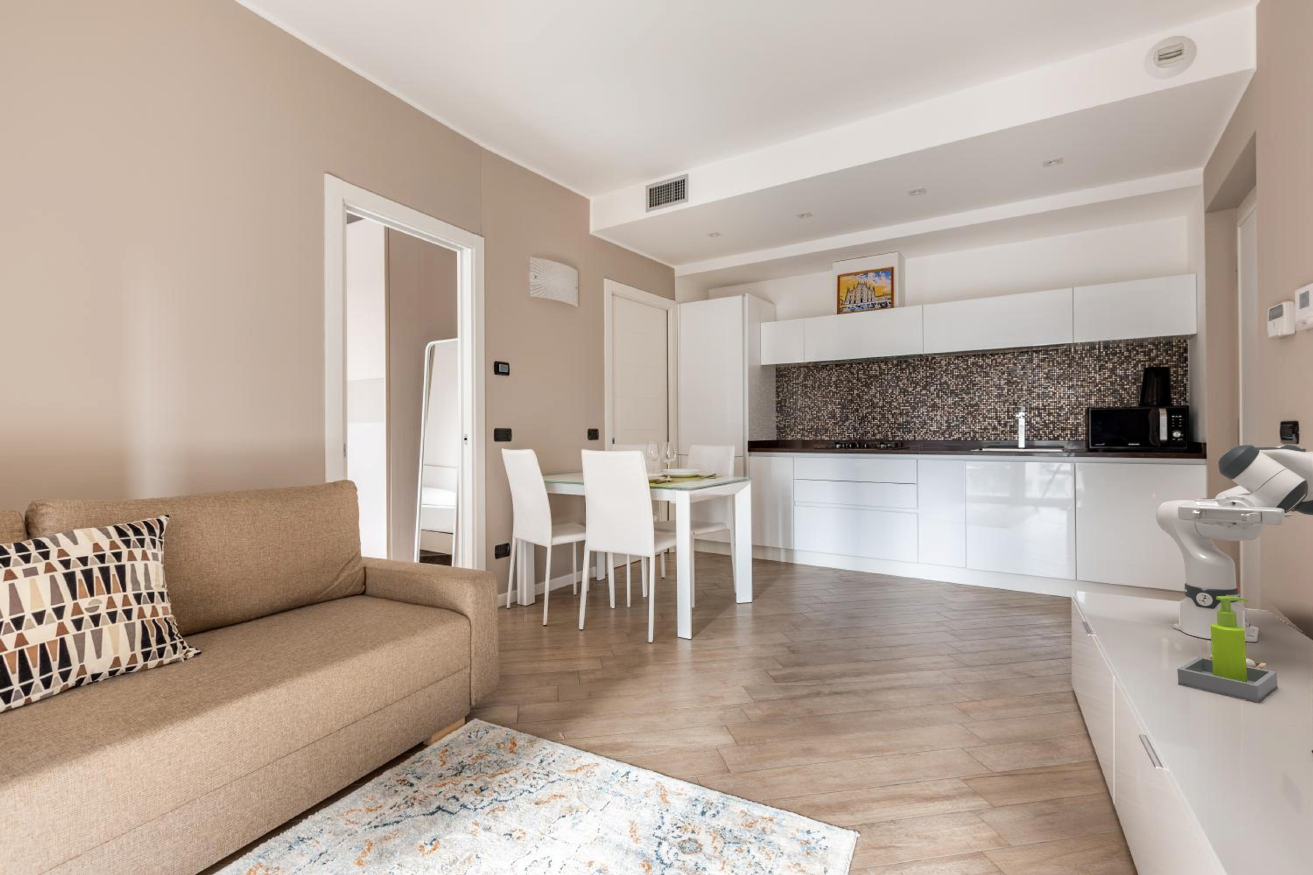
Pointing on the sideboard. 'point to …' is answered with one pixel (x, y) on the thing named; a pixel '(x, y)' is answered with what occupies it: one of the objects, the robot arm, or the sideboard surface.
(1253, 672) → the dish
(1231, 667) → the soap dispenser
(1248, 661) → the pebble
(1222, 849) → the sideboard surface
